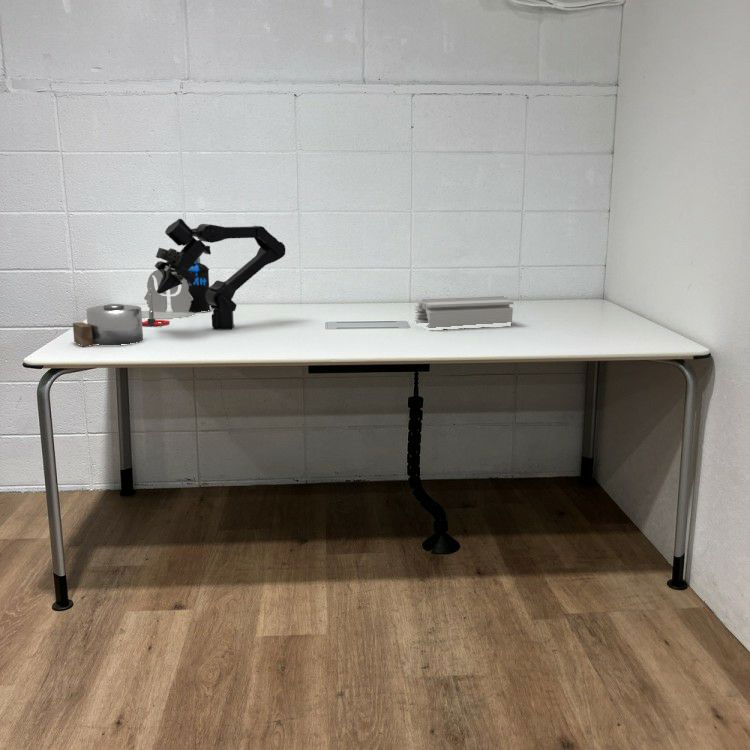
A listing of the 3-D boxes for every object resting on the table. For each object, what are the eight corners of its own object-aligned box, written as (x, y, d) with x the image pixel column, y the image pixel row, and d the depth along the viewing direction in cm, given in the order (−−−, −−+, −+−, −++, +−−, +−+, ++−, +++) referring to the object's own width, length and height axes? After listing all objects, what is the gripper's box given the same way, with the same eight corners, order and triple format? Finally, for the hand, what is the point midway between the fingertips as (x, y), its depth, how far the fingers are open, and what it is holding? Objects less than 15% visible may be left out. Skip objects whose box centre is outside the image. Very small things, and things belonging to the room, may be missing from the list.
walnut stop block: (84, 341, 244) (82, 322, 243) (93, 345, 238) (91, 326, 237) (74, 342, 243) (72, 323, 241) (82, 347, 236) (81, 327, 235)
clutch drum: (148, 335, 255) (146, 301, 252) (136, 346, 239) (134, 309, 236) (97, 335, 254) (94, 301, 251) (82, 346, 238) (79, 309, 235)
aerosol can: (193, 308, 306) (190, 256, 301) (213, 309, 305) (211, 256, 300) (185, 312, 298) (182, 258, 293) (206, 313, 297) (204, 259, 292)
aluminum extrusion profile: (414, 324, 280) (415, 296, 278) (494, 320, 289) (495, 293, 287) (429, 332, 267) (429, 302, 265) (511, 327, 276) (513, 299, 273)
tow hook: (150, 322, 279) (138, 326, 270) (149, 285, 276) (137, 288, 267) (173, 323, 278) (162, 327, 269) (172, 286, 275) (161, 289, 266)
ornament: (197, 314, 295) (195, 269, 290) (184, 320, 282) (182, 273, 278) (141, 312, 298) (138, 267, 293) (125, 318, 285) (122, 271, 281)
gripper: (158, 236, 258) (127, 272, 254) (184, 241, 243) (151, 280, 240) (182, 258, 264) (153, 295, 261) (208, 265, 250) (177, 303, 246)
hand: (158, 292), depth 252 cm, fingers closed
